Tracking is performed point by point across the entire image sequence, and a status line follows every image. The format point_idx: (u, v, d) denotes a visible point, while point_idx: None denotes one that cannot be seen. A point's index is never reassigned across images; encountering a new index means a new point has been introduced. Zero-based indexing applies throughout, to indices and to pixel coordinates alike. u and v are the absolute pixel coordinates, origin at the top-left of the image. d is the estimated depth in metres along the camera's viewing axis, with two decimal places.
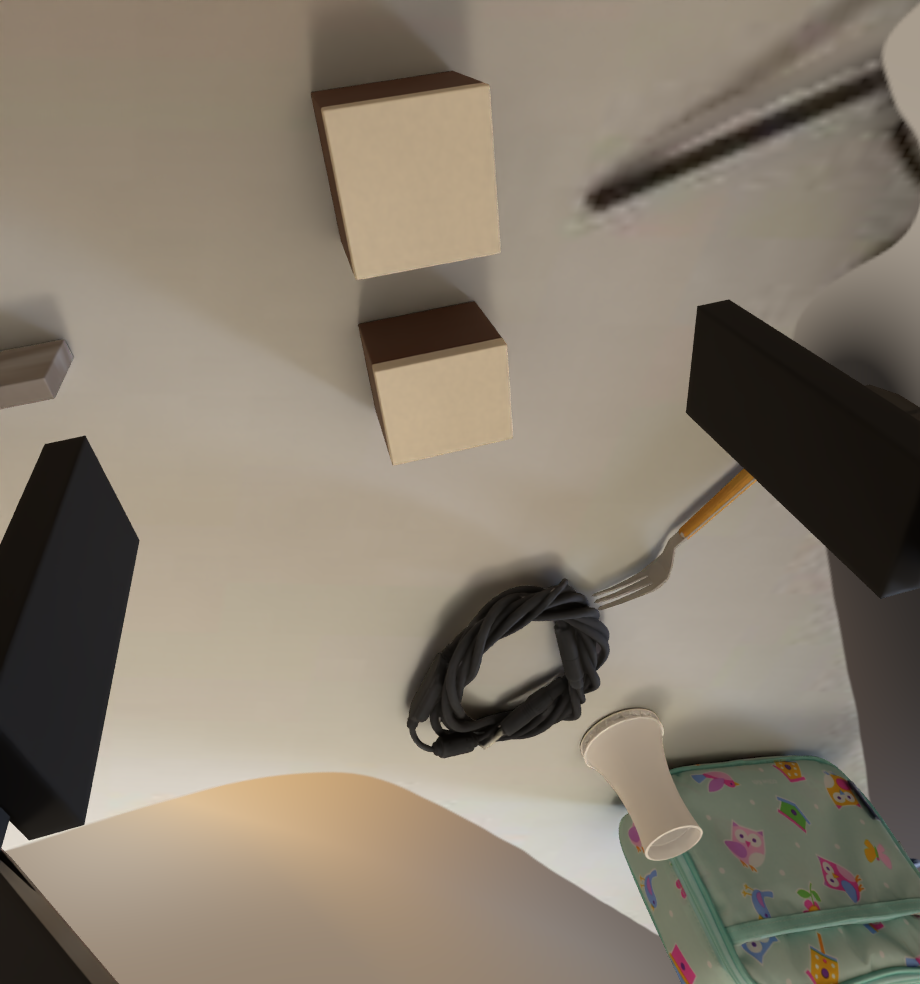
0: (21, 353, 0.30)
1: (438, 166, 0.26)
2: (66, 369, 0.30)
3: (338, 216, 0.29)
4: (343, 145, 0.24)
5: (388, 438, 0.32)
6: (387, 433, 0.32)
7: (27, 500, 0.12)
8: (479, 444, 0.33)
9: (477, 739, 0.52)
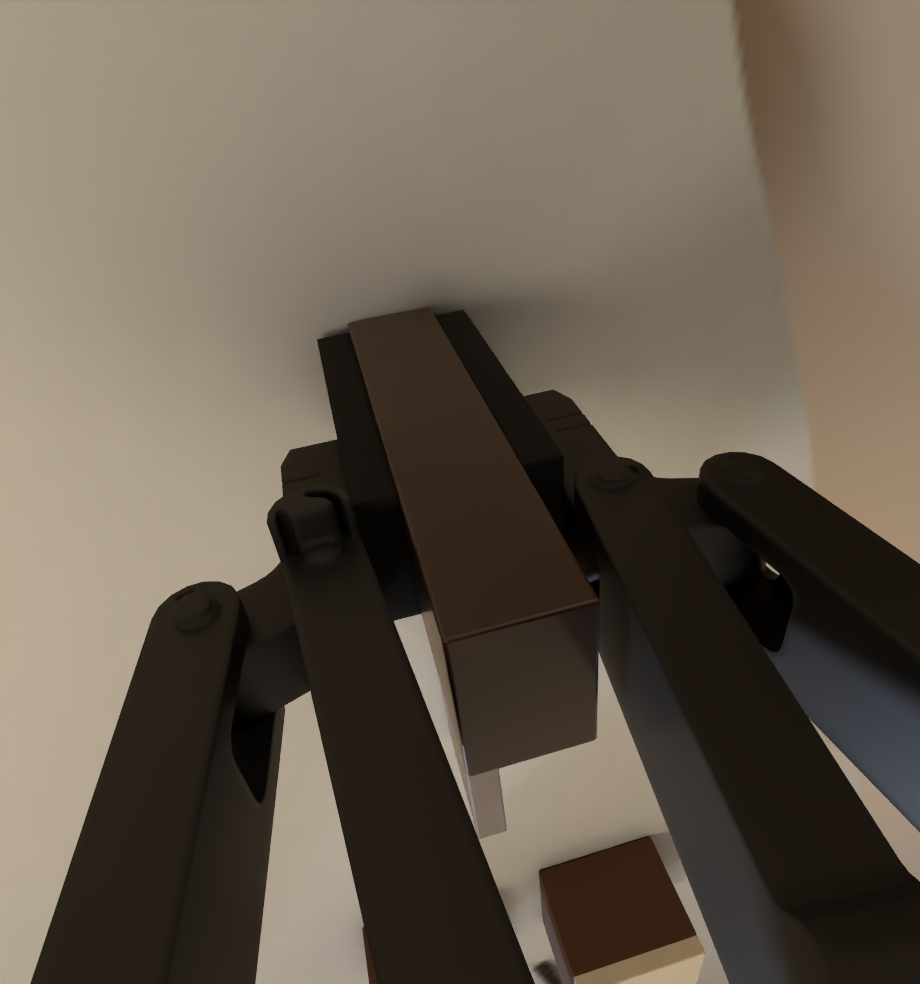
0: None
1: None
2: None
3: (586, 905, 0.33)
4: (681, 965, 0.31)
5: None
6: None
7: (331, 374, 0.14)
8: None
9: None
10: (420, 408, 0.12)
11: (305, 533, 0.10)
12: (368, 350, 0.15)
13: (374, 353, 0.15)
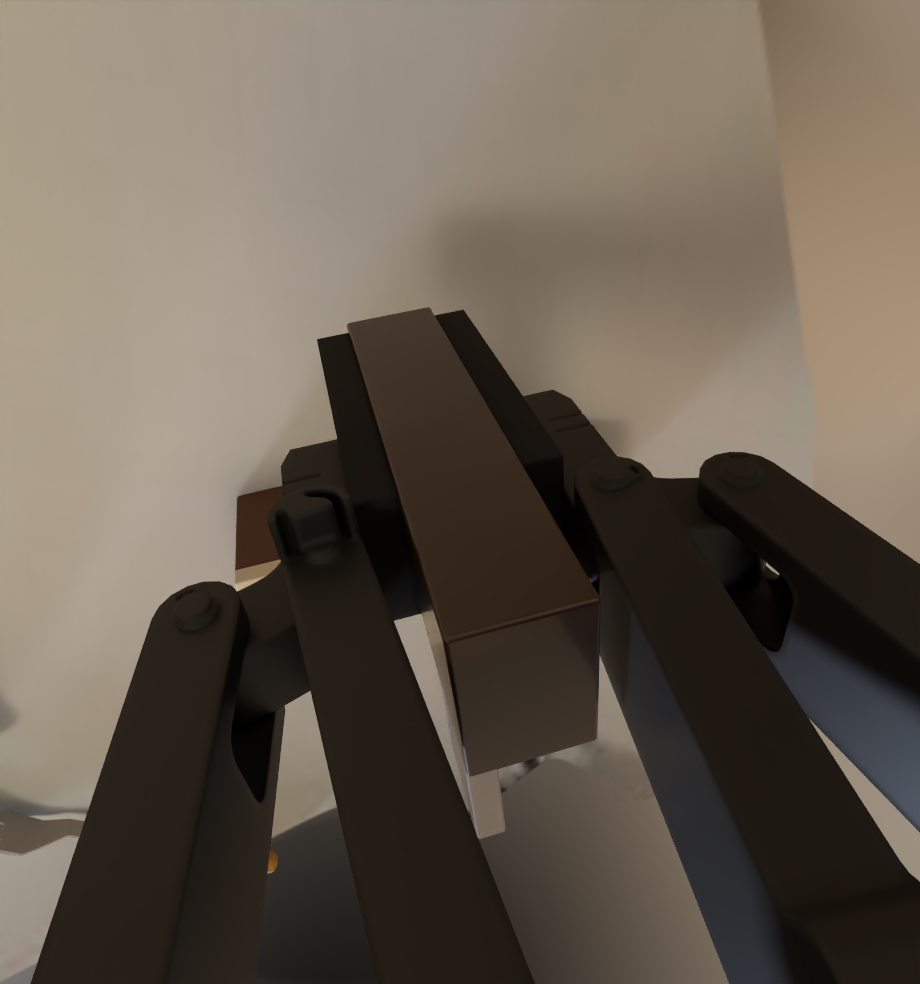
0: None
1: None
2: None
3: None
4: None
5: None
6: None
7: (331, 374, 0.14)
8: None
9: None
10: (420, 407, 0.12)
11: (305, 533, 0.10)
12: (368, 350, 0.15)
13: (374, 352, 0.14)
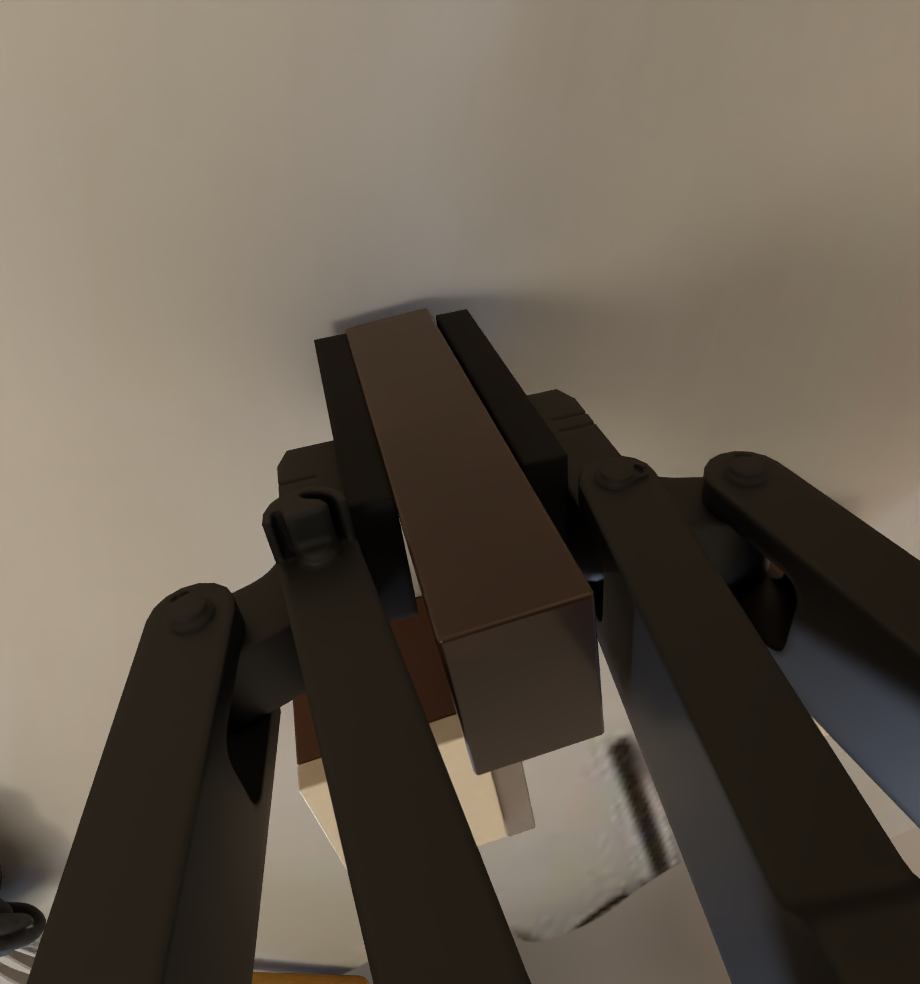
0: None
1: None
2: None
3: None
4: None
5: None
6: None
7: (327, 375, 0.14)
8: None
9: None
10: (415, 409, 0.12)
11: (299, 536, 0.10)
12: (365, 354, 0.15)
13: (371, 357, 0.15)
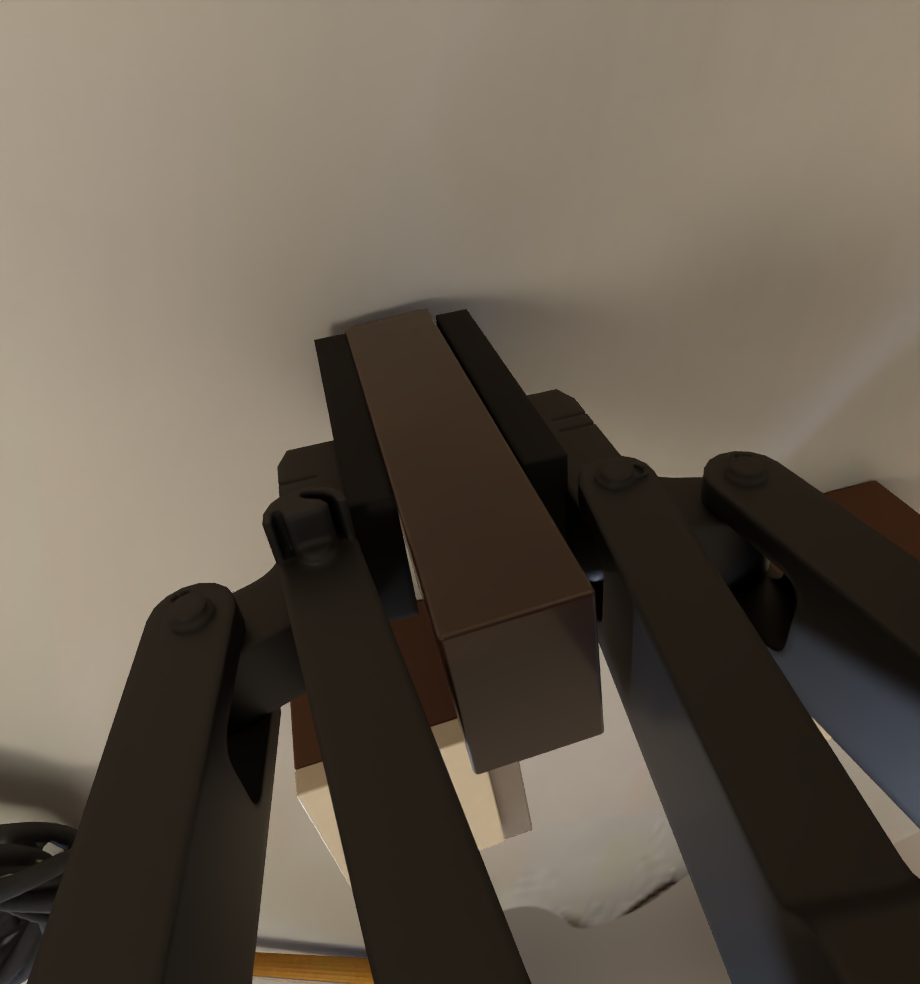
0: None
1: None
2: None
3: None
4: None
5: None
6: None
7: (327, 375, 0.14)
8: (343, 868, 0.20)
9: None
10: (415, 407, 0.12)
11: (300, 535, 0.10)
12: (365, 354, 0.15)
13: (371, 356, 0.15)
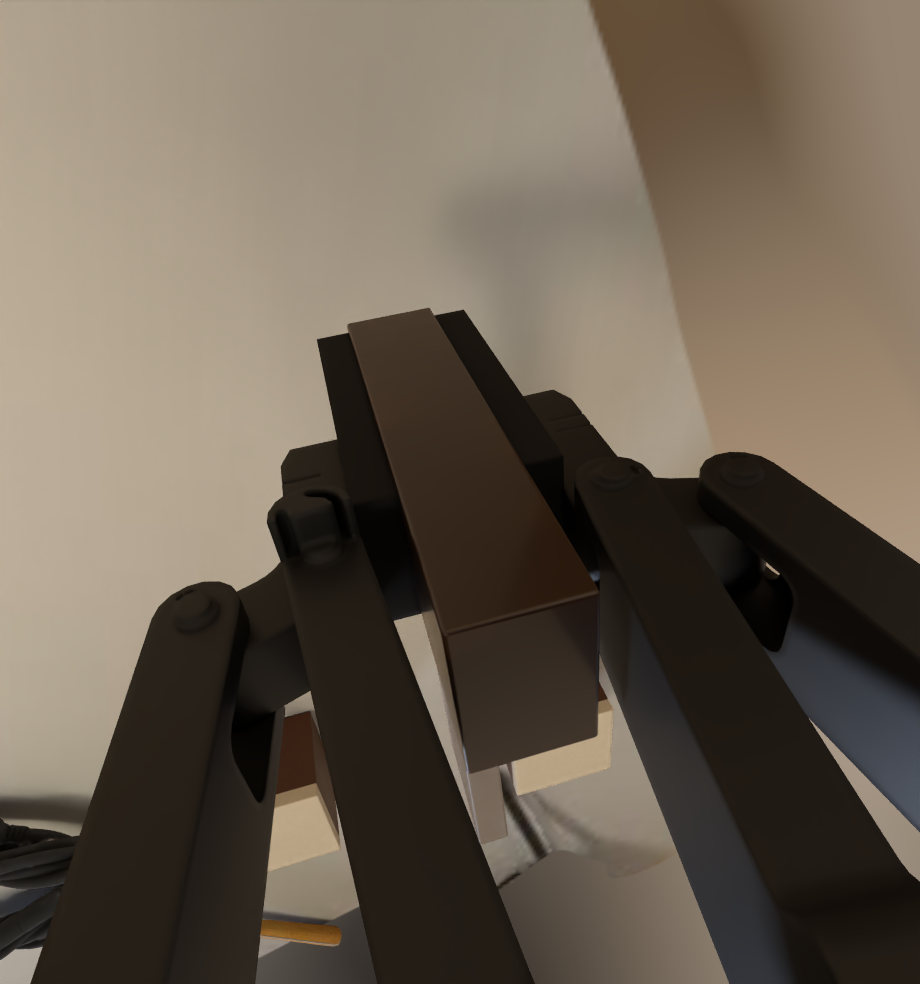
0: None
1: (573, 759, 0.41)
2: None
3: None
4: None
5: None
6: None
7: (331, 374, 0.14)
8: None
9: None
10: (419, 405, 0.12)
11: (305, 533, 0.10)
12: (368, 349, 0.15)
13: (374, 352, 0.15)
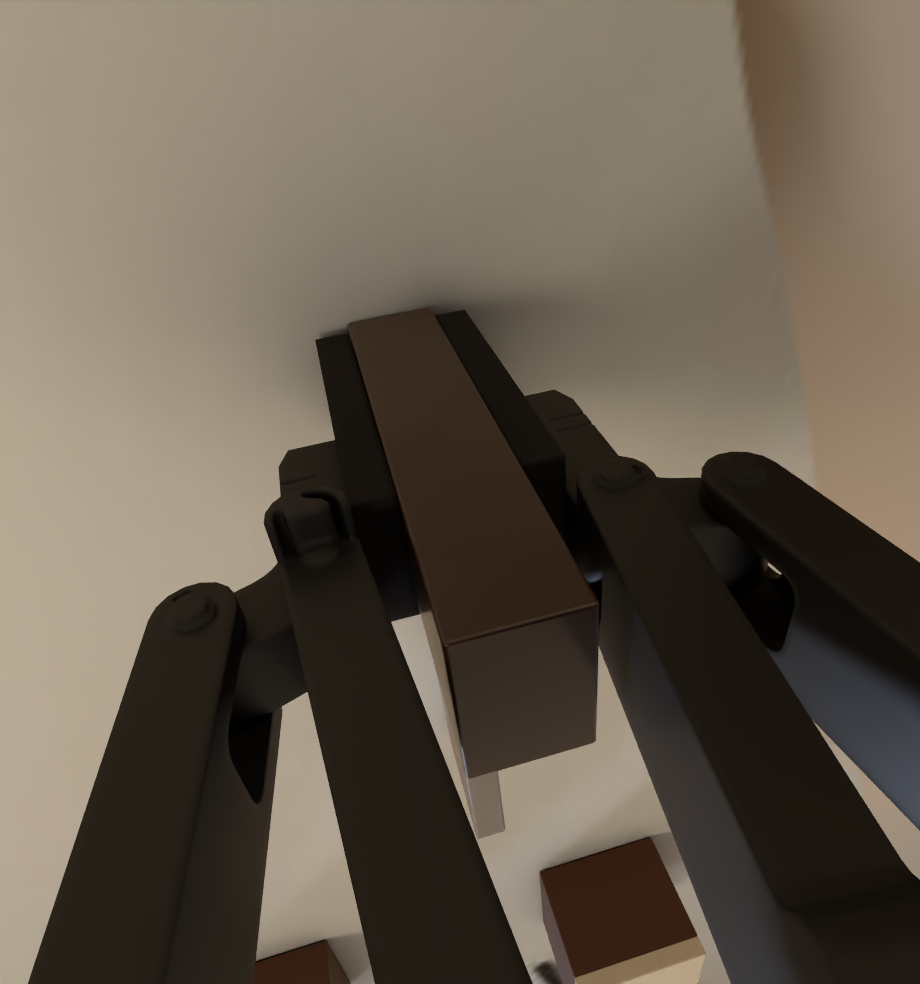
0: None
1: None
2: None
3: (586, 906, 0.33)
4: (681, 966, 0.31)
5: None
6: None
7: (329, 375, 0.14)
8: None
9: None
10: (419, 409, 0.12)
11: (301, 535, 0.10)
12: (368, 351, 0.15)
13: (374, 353, 0.14)
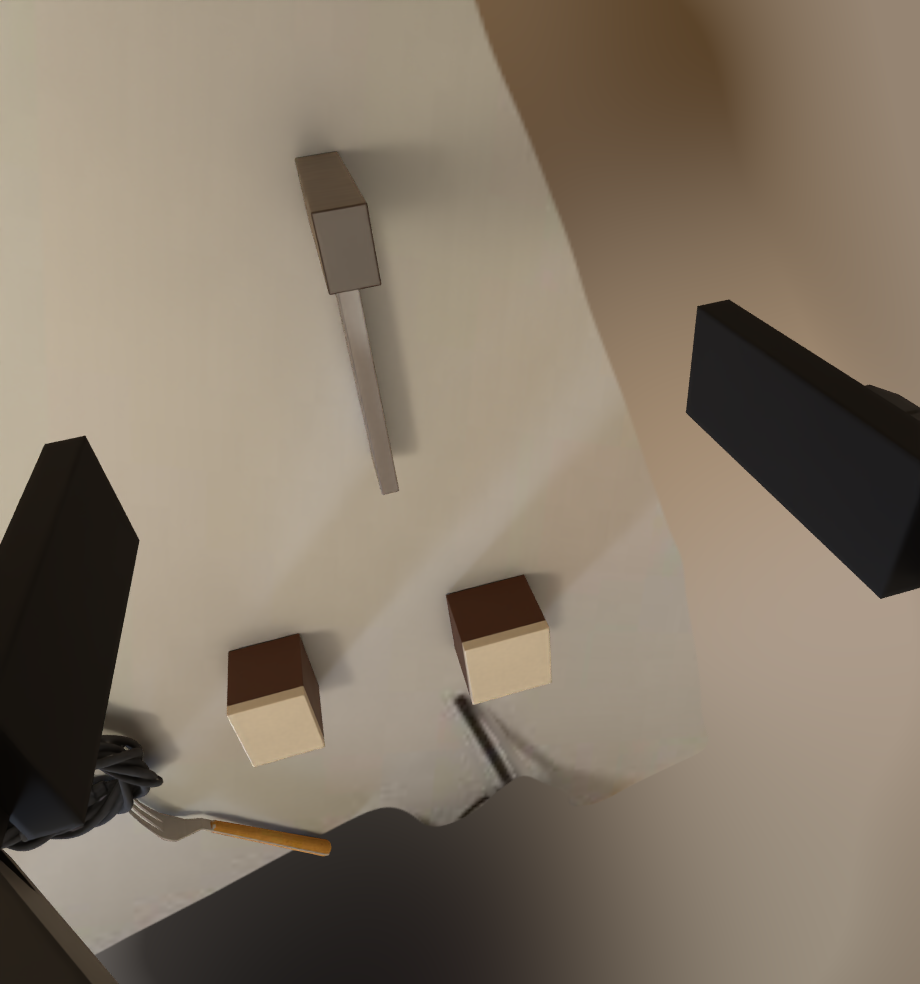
0: None
1: (519, 672, 0.49)
2: None
3: (475, 609, 0.49)
4: (533, 637, 0.47)
5: (251, 709, 0.44)
6: (255, 708, 0.44)
7: (27, 500, 0.12)
8: (248, 753, 0.47)
9: None
10: (320, 175, 0.28)
11: None
12: (302, 164, 0.30)
13: (305, 164, 0.30)
